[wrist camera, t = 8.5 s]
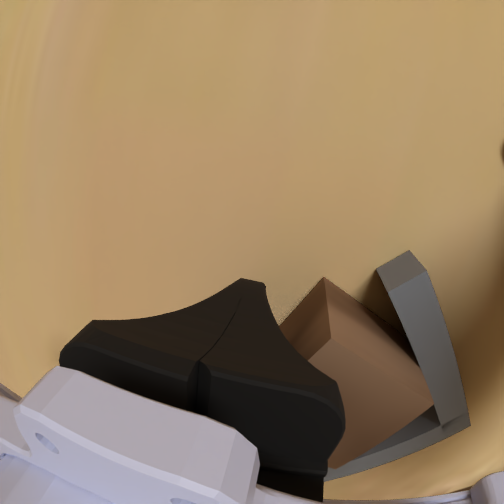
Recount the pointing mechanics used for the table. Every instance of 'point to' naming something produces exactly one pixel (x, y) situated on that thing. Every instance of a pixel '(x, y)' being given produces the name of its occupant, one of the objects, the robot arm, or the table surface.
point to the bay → (430, 361)
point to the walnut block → (359, 367)
